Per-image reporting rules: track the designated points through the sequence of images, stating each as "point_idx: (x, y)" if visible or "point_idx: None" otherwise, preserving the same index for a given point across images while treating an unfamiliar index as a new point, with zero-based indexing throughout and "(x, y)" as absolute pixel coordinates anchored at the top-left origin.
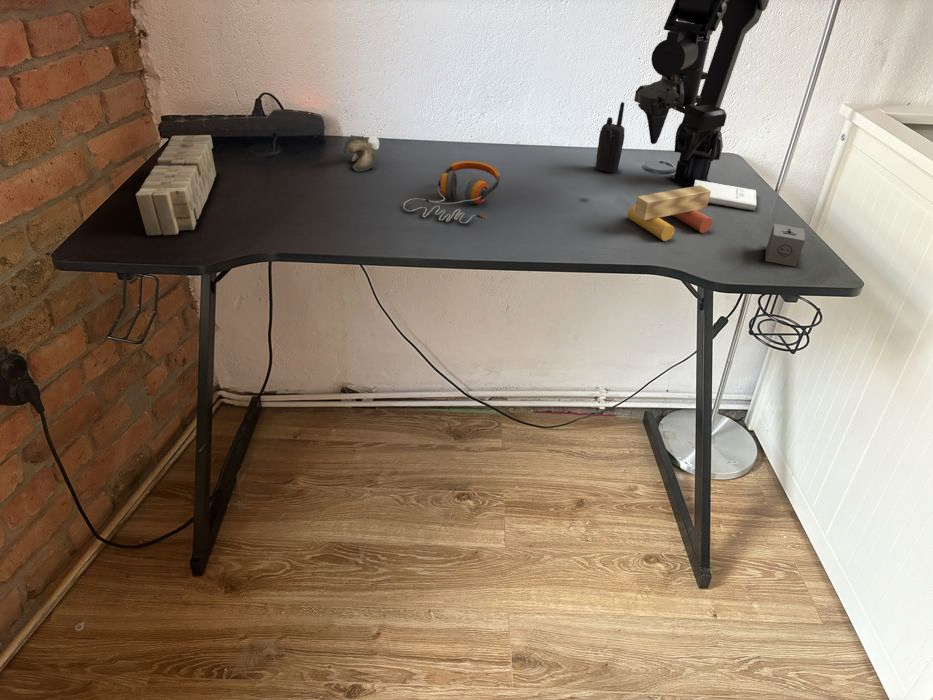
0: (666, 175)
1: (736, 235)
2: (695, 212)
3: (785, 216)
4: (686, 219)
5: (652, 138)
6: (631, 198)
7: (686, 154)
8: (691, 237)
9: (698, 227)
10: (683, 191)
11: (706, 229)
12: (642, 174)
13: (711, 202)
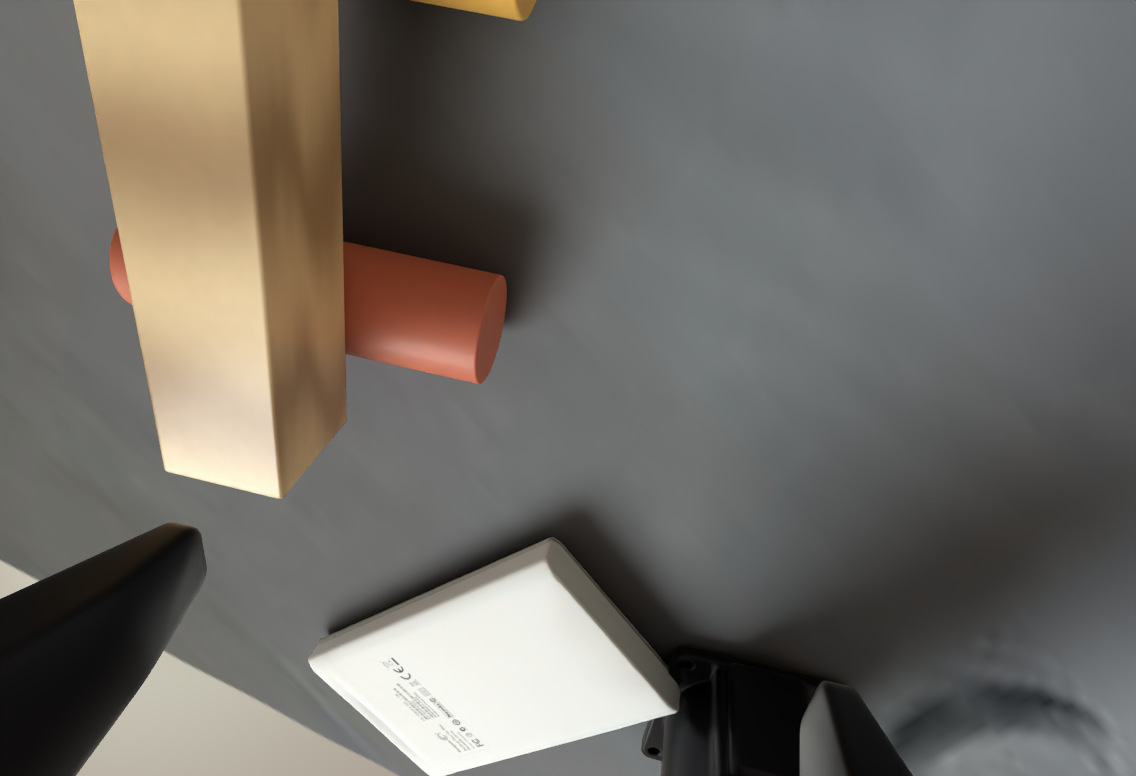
0: (892, 708)
1: (119, 363)
2: None
3: (241, 674)
4: None
5: (841, 747)
6: (829, 275)
7: (85, 568)
8: None
9: None
10: (201, 283)
11: None
12: (1023, 639)
13: (466, 576)
